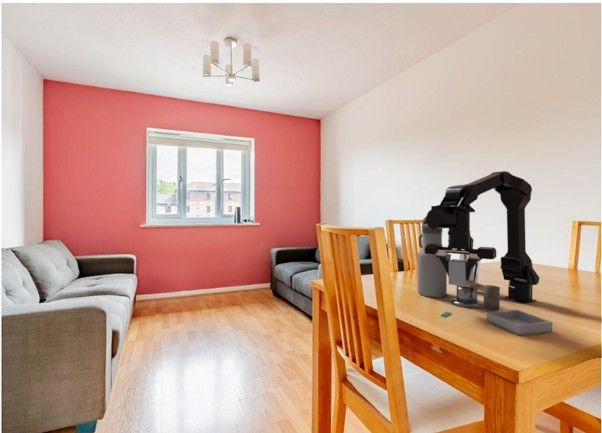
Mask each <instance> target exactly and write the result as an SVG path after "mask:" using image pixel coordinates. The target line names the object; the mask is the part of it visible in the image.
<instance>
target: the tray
mask: <svg viewBox="0 0 602 433" xmlns="http://www.w3.org/2000/svg"><path fill="white" fill-rule="evenodd" d="M486 322H487V323H489V324H491V325H494V326H496V327H498V328H501V329H502V330H504V331H507V332H509V333H512V334H513V335H516V336H518V337H520V336H529V335H531V336H532V335H539V334H546V333H547V334H548V333H553V322H552V321H549V320H548V319H544V318H541V317H539V316H536V315H533V314H531V313H528V312H525V311H522V310H520V309H508V310H499V311H489V312H486Z"/></svg>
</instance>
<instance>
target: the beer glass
mask: <svg viewBox="0 0 602 433" xmlns="http://www.w3.org/2000/svg"><path fill="white" fill-rule="evenodd" d="M468 258H470V256H469V255H467V254H459V258H458V260H467V259H468ZM480 271H481V260H480V261H477V262H476V264H475V266H474V268H473V270H472V273H471V276H470V278H469V280H474V281H476V283H478V282H479V276H480ZM478 284H479V283H478ZM479 292H480V290H477V294H478V293H479Z"/></svg>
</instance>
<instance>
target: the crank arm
mask: <svg viewBox="0 0 602 433" xmlns="http://www.w3.org/2000/svg"><path fill="white" fill-rule="evenodd" d="M462 287H471V288H474V289H477V290H479V292H482V293H483V309H485V310H487V311H490V312H497V311H501V310H500V305H501V303H500V301H501V300H500V299H501V297H500V296H501V293H500V291H501V290H500V289H501V287H499V285H498V286H497V285H493V284H492V285H491V284H485V285H484V284H480V283H476V281H474V280H469V284H468V285H466V286H462Z"/></svg>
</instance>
